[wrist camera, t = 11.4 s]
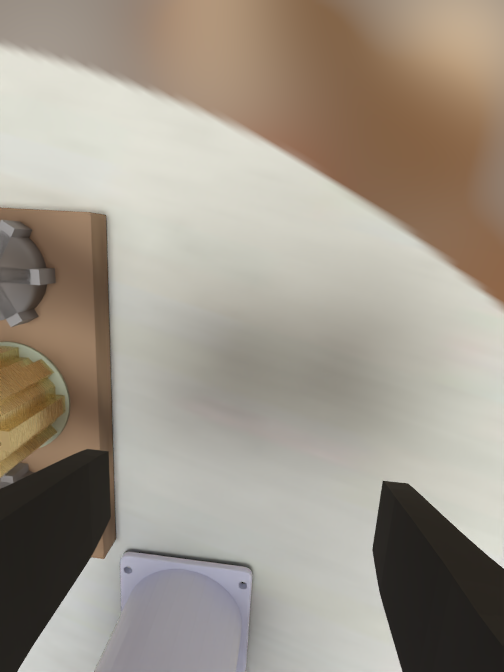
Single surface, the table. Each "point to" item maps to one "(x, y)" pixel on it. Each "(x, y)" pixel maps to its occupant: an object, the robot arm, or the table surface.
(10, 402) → the brass gear
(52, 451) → the gear board
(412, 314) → the table surface
